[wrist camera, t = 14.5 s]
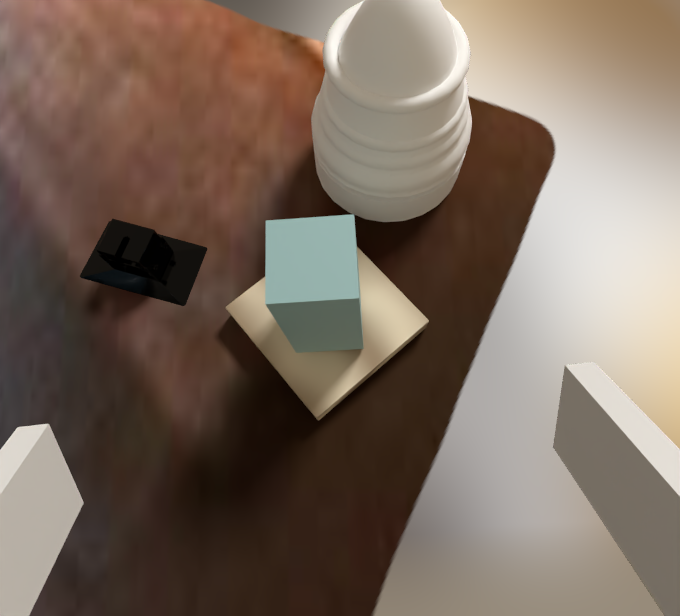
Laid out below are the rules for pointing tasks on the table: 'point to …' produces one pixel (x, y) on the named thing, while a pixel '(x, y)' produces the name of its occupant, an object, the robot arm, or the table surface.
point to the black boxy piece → (144, 262)
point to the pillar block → (314, 282)
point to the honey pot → (392, 108)
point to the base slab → (341, 365)
